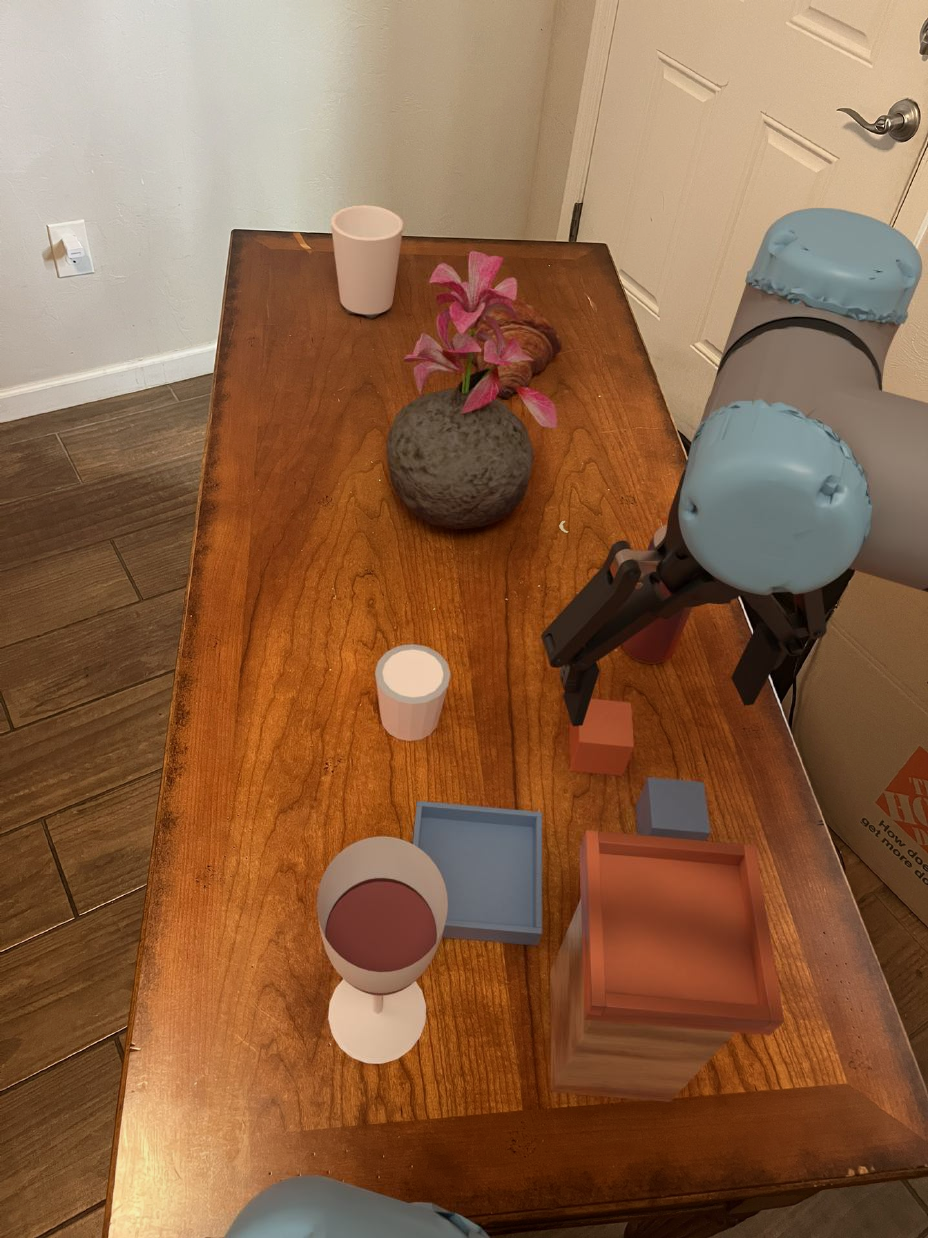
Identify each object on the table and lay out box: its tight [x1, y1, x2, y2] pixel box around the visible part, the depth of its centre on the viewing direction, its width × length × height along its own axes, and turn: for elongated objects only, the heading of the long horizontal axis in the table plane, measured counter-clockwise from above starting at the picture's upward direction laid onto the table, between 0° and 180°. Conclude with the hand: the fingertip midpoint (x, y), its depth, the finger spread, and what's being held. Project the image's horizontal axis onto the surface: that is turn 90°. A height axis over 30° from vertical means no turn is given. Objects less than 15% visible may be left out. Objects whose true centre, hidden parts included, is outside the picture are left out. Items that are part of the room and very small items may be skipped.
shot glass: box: [374, 643, 451, 742], centre depth 88 cm, size 7×7×7 cm
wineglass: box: [316, 836, 448, 1065], centre depth 65 cm, size 8×9×20 cm
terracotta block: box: [568, 698, 635, 777], centre depth 88 cm, size 5×5×5 cm
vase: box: [386, 250, 558, 530], centre depth 100 cm, size 17×17×30 cm
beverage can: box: [621, 524, 694, 665], centre depth 94 cm, size 6×6×15 cm
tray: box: [412, 800, 543, 947], centre depth 80 cm, size 11×11×2 cm
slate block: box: [635, 776, 711, 841], centre depth 83 cm, size 5×5×5 cm
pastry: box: [465, 298, 563, 400], centre depth 129 cm, size 17×15×8 cm
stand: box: [549, 829, 785, 1103], centre depth 65 cm, size 11×11×22 cm
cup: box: [330, 204, 404, 320], centre depth 133 cm, size 10×10×13 cm
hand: (658, 701), depth 71 cm, fingers open, 13 cm apart
